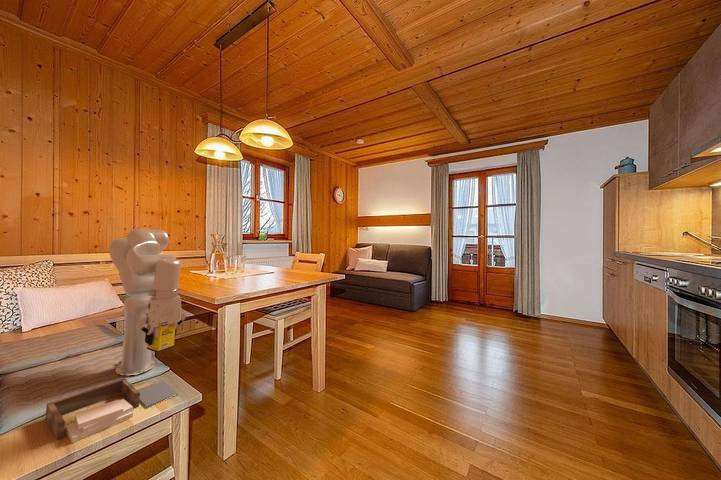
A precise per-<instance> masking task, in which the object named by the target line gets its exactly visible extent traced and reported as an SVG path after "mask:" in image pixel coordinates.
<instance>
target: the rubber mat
mask: <svg viewBox="0 0 721 480" xmlns="http://www.w3.org/2000/svg"><path fill="white" fill-rule="evenodd" d="M136 389H137V388H136ZM137 390H138V391H139V392H140V398H139V403H141V404H142V406H144V408H145V409H148V408H150V407H152V405H153V406H155V405H157V404H156V403H158V404H160V403H162V402H164V401H163V400H165V399H167V398H169V397H171V396H173V395H175V394H178V395H179V393H178V392H177V390H175V389H174V388H173V387H172V386H170V384H168V383H167V382H166V381H164V379H163V380H159V381H157V382H154V383H152V384H149V385H145V386H143V387H140V388H138V389H137ZM169 399H170V398H169ZM167 400H168V399H167ZM161 401H162V402H161ZM165 401H166V400H165ZM159 402H160V403H159ZM154 404H155V405H154ZM147 407H148V408H147Z"/></svg>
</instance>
